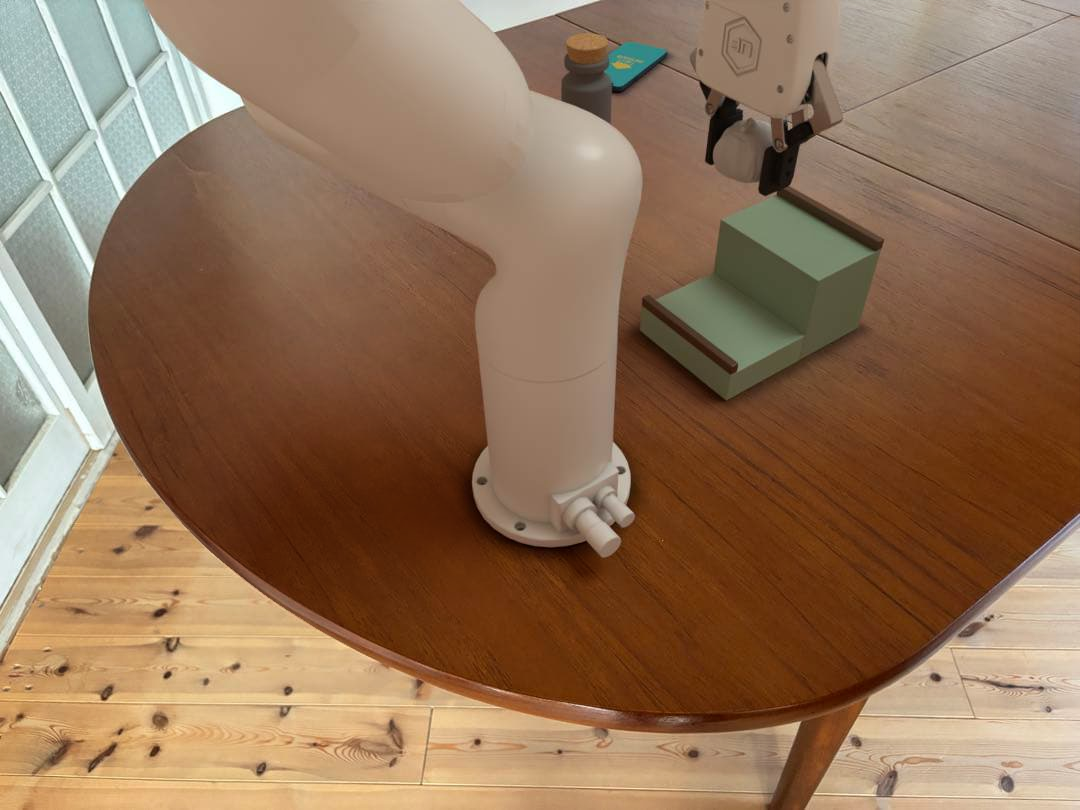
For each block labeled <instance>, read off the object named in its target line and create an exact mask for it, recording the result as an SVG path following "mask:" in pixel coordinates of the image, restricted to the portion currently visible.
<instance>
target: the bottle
mask: <svg viewBox="0 0 1080 810" xmlns="http://www.w3.org/2000/svg"><path fill="white" fill-rule="evenodd" d="M608 45H609V40H608V38H607V37H605V36H604V35H602V34H598V33H592V32H588V33H587V32H585V33H577V34H573V35H571V36H569V37H568V38H567V39H566V40H565V46H566V52H567V53H566V55H565V56H564V59H563V63H564V68H565V69H566V70H567V71H568V72H567V73H566V74H565V75H564V76H563V77H562V78H561V85H560V86H561V88H560V90H561V93H560V94H561V96H560V98H561V99H560V101H562V102H565V103H568V104H571V105H574V106H576V107H579V108H581V109H583V110H586V111H588V112H590V113H592V114H594V115H596V116H597V117H599V118H601V119H603V120H605V121H606V122H608V123H609V124H610V125H612V102H613V101H612V100H613V99H612V98H613V96H612V94H613V90H612V79H611V77H610V76H609V75H608V74H607V73H605V72H604V71H605V70H606V69H607V68H608V67H609V56H608V55H609V53H607V49H608Z"/></svg>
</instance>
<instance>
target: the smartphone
mask: <svg viewBox="0 0 1080 810" xmlns="http://www.w3.org/2000/svg"><path fill="white" fill-rule="evenodd" d="M668 53H669V51H668V50H667V49H666V48H661V47H656V46H652V45H648V44H642V43H638V42H633V41H626V42H624V43H623V44H621V45H619V47H617V48H615V49H614V50H613V51H611V52H610V53H608V56H609V67H608V68H607V69H606V70H605V71H604V72H605V73H607V74H608V75H609V76H610V77H611V79H612V91H614V92H623V91H624V90H626V89H627V88H628V87H630V86H631V85H632V84H633V83H635V82H636V81H638V80H639V79H640V78H641V77H643V76H644V75H645V74H646V73H647V72H649V71H650V70H651V69H653V68H654V67H655V66H656V65H658V64H659V63H661V62H662V61H663V60H664V59H666V58H667V57H668Z"/></svg>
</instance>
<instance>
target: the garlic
mask: <svg viewBox="0 0 1080 810" xmlns="http://www.w3.org/2000/svg"><path fill="white" fill-rule="evenodd" d="M770 146H773V144H772V131H771V123H770V122H767V121H765V120H764V121H763V120H758V119H754V118H752V117H749V118H747V119H743V120H741V121H737V122H736V123H734V124H733V125H732V126H731V127H729V128H727V129H726V130H725V131H724V133H723V134H722V136H721V138H720V140H719V141H718V142H717V143H716V145H715V148H714V151H713V161H714V167H715V169H716V170H717V172H718V173H719V174H721V175H722V176H724V177H726V178H728V179H731V180H734V181H736V182H739V183H744V184H755V183H759V181H760V175H761V170H762V164H763V158H764V152H765V150H766V148H768V147H770Z"/></svg>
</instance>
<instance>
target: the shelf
mask: <svg viewBox="0 0 1080 810" xmlns="http://www.w3.org/2000/svg"><path fill="white" fill-rule="evenodd" d="M884 242H885V238H883V237H881V236H879V235H878V234H877V233H874V232H872V231H871V230H869V229H867V228H866V227H864V226H861V225H860V224H858V223H856V222H855V221H853V220H851V219H849V218H848V217H846V216H844V215H843V214H840V213H838V212H837V211H835V210H833V209H831V208H829V207H828V206H826V205H824V204H823V203H820V202H819V201H817V200H815V199H814V198H812V197H810V196H808V195H806V194H805V193H802V192H801V191H799V190H797V189H796V188H794V187H792V186H791V185H789V186H788V187H786V188H784V189H781V190H779V191H777V192H776V194H775V195H773V196H771V197H768V198H766V199H764V200H762V201H758V202H757V203H754V204H753V205H750V206H748V207H746V208H743V209H741V210H739V211H737V212H734V213H732V214H729V215H728V216H725V217H723V218H721V219H720V221H719V228H718V238H717V243H716V251H715V258H714V259H715V260H714V265H713V272H711V273H709V274H707V275H705V276H703V277H700V278H697V279H696V280H694V281H692V282H689V283H687V284H686V285H684V286H681V287H679V288H677V289H675V290H673V291H670V292H668V293H667V294H664V295H662V296H659V297H657V298H656V299H655V298H654V297H653V296H651V295H650V294H647V295H644V296H643V297H642V299H641V309H640V323H639V324H640V325H639V331H640V332H641V333H642V334H643V335H645V336H646V337H647V338H648V339H650V340H651V341H652V342H653V343H655V345H657V346H658V347H660V348H661V349H663V351H665V352H666V353H667V354H668V355H670V356H671V357H672V358H673V359H674V360H675V361H676V362H678V363H679V364H681V366H683V367H684V368H685V369H687V370H688V371H689V372H690V373H692V374H693V375H694V376H695V377H697V378H698V379H699V380H700V381H701V382H703V383H704V384H705V385H706V386H707V387H709V388H710V389H711V390H713V391H714V392H715V393H716V394H718V395H719V396H720V397H721V398H722V399H723V400H725V401H728V400H730V399H732V398H734V397H736V396H737V395H740V394H741V393H743V392H745V391H746V390H748V389H750V388H752V387H754V386H755V385H757V384H759V383H761V382H763V381H765V380H766V379H769V378H770V377H772V376H774V375H776V374H777V373H779V372H781V371H783V370H785V369H787V368H788V367H790V366H792V365H794V364H795V363H797V362H799V361H800V360H802V359H804V358H806V357H809V356H810V355H811V354H813V353H815V352H817V351H819V350H820V349H823V348H824V347H826V346H828V345H830V344H831V343H833V342H835V341H837V340H839V339H840V338H842V337H844V336H845V335H847V334H849V333H852V332H853V331H855V330H857V329H858V328H859V326H860V323H861V319H862V316H863V312H864V308H865V307H866V302H867V300H868V295H869V293H870V289H871V286H872V282H873V279H874V275H875V272H876V269H877V266H878V262H879V259H880V255H881V252H882V248H883V245H884Z"/></svg>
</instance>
